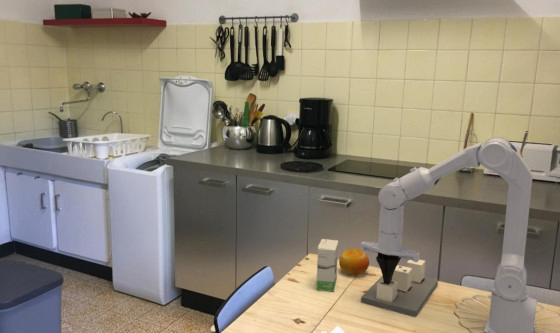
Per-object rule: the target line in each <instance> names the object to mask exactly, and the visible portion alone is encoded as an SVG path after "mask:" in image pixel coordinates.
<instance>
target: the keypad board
mask: <svg viewBox="0 0 560 333" xmlns="http://www.w3.org/2000/svg"><path fill="white" fill-rule="evenodd" d="M382 279H383V276H382V275H381V276H380V278H379V279H377V280H376V281H375V282H374V284H372V285H371V286H370V287H369V288H368V290H366V291H365V292H364V294H362V295H361V297H360V303H361V304H366V305H370V306H374V307H377V308H381V309H385V310H387V311H391V312H396V313H399V314H403V315H407V316H410V317H414V318H417V316H418V315H419V313H420V312H421V310H422V309H423V307H424V306H425V305H426V303H427V301H428V300H429V298H430V297H431V295H432V294H433V293H434V292H435V289H436V288H437V286H438V284H439V279H436V278H432V277H427V276H424V279H423V280H422V281H421V282H420V283H418V282H414V281H411V287H410V288H409V289H408V290H407V291H406V292H405V291H401V290H397V298H396V299H395V301H394V302H393V303H391V302H387V301H384V300H380V299H376V296H377V284H378V283H379V282H380V281H381V280H382ZM391 281H392V280H391Z"/></svg>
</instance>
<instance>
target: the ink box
mask: <svg viewBox="0 0 560 333" xmlns="http://www.w3.org/2000/svg"><path fill="white" fill-rule="evenodd" d="M338 253H339V240H336V239H327V238H321V240H320V242H319V243H318V245H317V264H316V290H318V291H326V292H327V291H328V292H334V291H335V289H336V284H337V278H338V276H337V275H338V260H339V256H338V255H339V254H338Z"/></svg>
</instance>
